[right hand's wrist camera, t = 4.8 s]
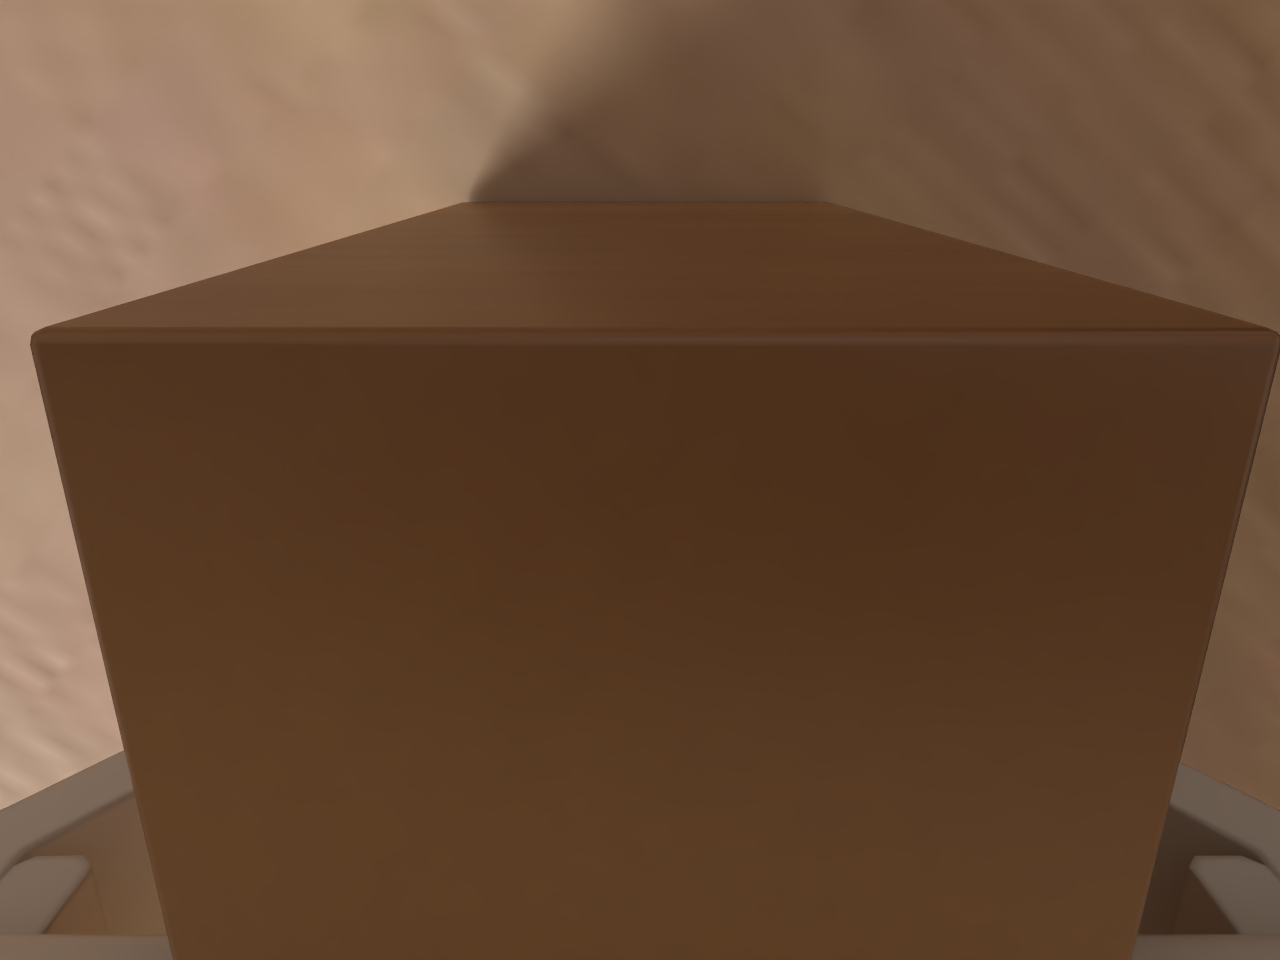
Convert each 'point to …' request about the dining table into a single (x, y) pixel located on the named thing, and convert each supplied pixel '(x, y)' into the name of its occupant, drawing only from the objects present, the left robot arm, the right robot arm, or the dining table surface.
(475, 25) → the dining table surface
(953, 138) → the dining table surface
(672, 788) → the beam
